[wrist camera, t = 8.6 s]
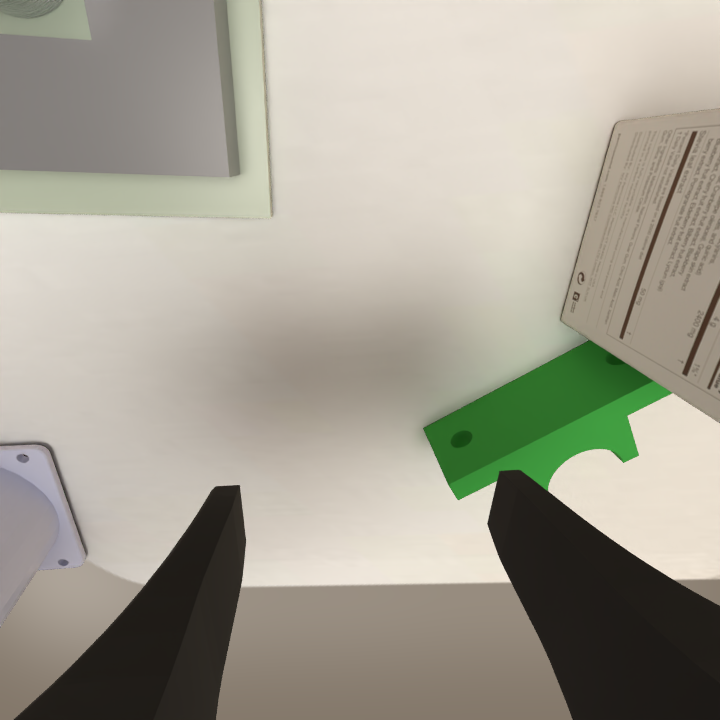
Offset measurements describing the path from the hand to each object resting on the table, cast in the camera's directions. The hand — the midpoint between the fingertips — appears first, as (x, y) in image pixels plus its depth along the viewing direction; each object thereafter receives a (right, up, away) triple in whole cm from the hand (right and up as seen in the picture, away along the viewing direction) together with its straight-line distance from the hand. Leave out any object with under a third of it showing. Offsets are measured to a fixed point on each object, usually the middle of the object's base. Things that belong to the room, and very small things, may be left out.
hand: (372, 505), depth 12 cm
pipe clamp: (+9, +2, +11) cm, 14 cm away
